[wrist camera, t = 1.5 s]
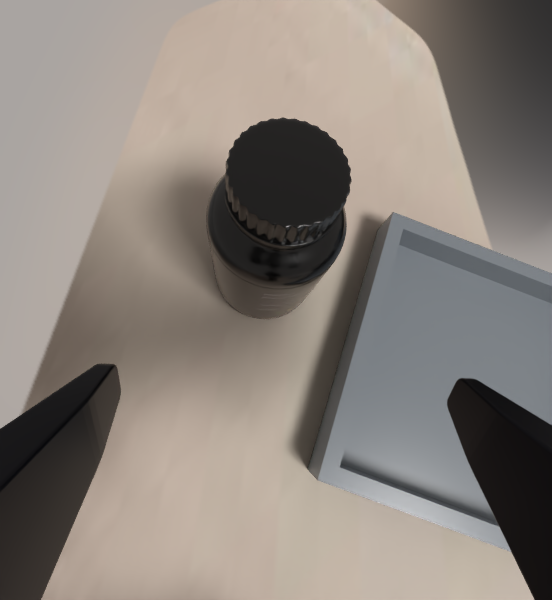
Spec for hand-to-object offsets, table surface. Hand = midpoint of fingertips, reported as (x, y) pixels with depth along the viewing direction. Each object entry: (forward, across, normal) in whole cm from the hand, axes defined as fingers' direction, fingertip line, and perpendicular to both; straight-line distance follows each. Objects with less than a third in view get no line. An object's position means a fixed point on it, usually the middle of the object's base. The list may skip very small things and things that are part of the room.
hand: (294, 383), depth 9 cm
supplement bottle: (+15, 0, +4) cm, 16 cm away
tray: (+10, -15, +9) cm, 20 cm away
